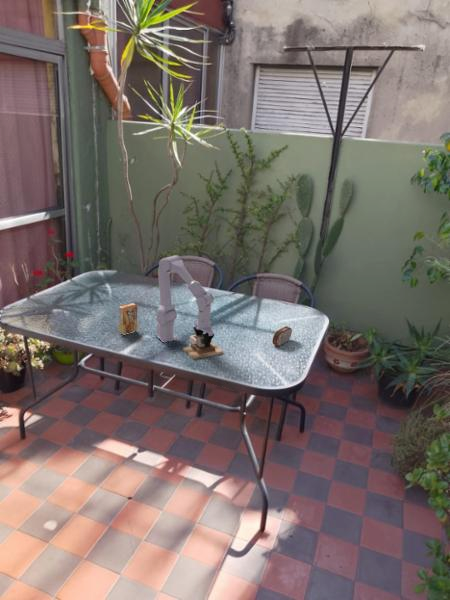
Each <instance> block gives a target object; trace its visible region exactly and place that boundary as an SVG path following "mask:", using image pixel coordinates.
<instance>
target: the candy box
mask: <svg viewBox="0 0 450 600" xmlns="http://www.w3.org/2000/svg"><path fill="white" fill-rule="evenodd" d="M118 330H119V332H121V333H122V334H126V333H130V332H133V331H136V330H137V331H138V305H137V304H135V303H134V302H132V303H128V304H124V305H120V306H118Z"/></svg>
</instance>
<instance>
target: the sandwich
mask: <svg viewBox="0 0 450 600" xmlns="http://www.w3.org/2000/svg"><path fill="white" fill-rule="evenodd" d="M292 333H293V329H292V328H291V327H289V326H287V325H286V326H284V327H281V328H279V329H278V330H277V331H275V333H274V334H273V337H272V344H273V346H277V347H281V346H282V345H284V344H286V343H287V342H288V341H289V340H290V338H292V337H291V336H292Z"/></svg>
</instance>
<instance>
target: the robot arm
mask: <svg viewBox="0 0 450 600" xmlns="http://www.w3.org/2000/svg"><path fill="white" fill-rule="evenodd" d="M171 273H172V274H173V273H175V274H178V275H179V276H180V278H181V279H183V281H184V282H185V283H186V284H187V287H188V288H187V289H188V291H189V292H190V293H191V295H192V296H194V298H195V299H196V300H195V302H196V305H197V309H198V315H197V316H198V317H197V321H196V320H195V322H194V327H193V326H192V327H193V328H192V329H193V331H194V333H195V334H196V336H198V335H203V338H204V345H205V347H209V346H210V343H211V342H212V340H213V338H214V337H215V333H214V331H213V330H212V327H211V311H212V310H211V308H212V306H211V305H212V304H213V302H214V295H212V293H211V292H208V291H207V290H206V289H205V288H204V287H203V286H202V285H201V283H200V282H199V281H198V280H194V278H193V277H192V275H191V274H190V272H189V271H188V270H187V268H186V266H185V265H184V261H183V259H182V258H181V256H180V255H178V254H175V255H174V254H173V255H171V256H167V257H163V258H161V259H160V260H159V262H158V269H157V275H158V277H157V278H158V287H159V289H158V290H159V300H160V301H159V302H160V305H159V307H158V308H157V309H156V315H155V316H156V318H155V319H156V322H157V323H156V335H158V336H159V338H160V339H161V340H162V342H164V343H167V342H166V341H169V342H173V340H174V341H177V340H178V339H177V338H176V337H175V336H174V333H175V332H174V327H175V326H174V325H175V320H176V319H177V316H178V313H177V311H176V306H174V304H172V291H171V277H170V275H171ZM204 332H205V333H204ZM162 342H161V343H162Z"/></svg>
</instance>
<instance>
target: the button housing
mask: <svg viewBox="0 0 450 600" xmlns="http://www.w3.org/2000/svg"><path fill="white" fill-rule="evenodd" d="M189 342H190V343H191V342H192V343H193V344H194V343H196V339H195V334H192V335H189ZM192 343H191V344H192Z"/></svg>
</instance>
